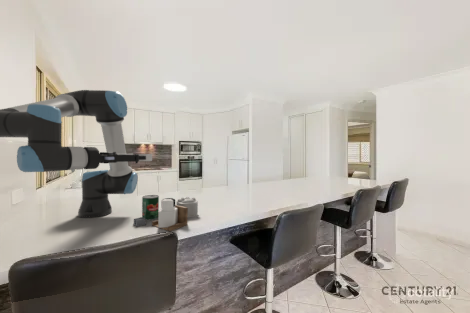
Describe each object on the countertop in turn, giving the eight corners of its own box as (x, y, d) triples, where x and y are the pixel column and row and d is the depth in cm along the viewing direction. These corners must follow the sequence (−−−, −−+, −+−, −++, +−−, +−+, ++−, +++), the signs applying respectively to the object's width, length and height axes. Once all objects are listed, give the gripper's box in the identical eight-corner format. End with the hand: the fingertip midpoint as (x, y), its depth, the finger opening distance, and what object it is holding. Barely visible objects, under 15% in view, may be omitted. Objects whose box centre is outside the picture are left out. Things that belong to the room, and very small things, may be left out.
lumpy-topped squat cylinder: (180, 218, 109) (180, 201, 109) (173, 212, 120) (174, 196, 120) (199, 215, 114) (199, 199, 114) (192, 210, 125) (192, 195, 125)
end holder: (152, 225, 98) (152, 207, 98) (170, 219, 106) (170, 203, 106) (169, 231, 91) (169, 212, 91) (187, 224, 99) (187, 207, 99)
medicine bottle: (162, 222, 101) (162, 197, 101) (177, 222, 101) (178, 197, 101) (157, 228, 94) (158, 200, 94) (174, 227, 94) (174, 200, 94)
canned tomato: (153, 220, 105) (153, 198, 104) (138, 219, 106) (138, 197, 106) (161, 216, 112) (161, 195, 112) (148, 215, 114) (148, 194, 114)
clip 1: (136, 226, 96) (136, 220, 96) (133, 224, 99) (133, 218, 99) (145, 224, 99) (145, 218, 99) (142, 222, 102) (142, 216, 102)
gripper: (68, 167, 79) (125, 164, 97) (100, 171, 65) (160, 167, 82) (68, 146, 79) (125, 147, 96) (100, 146, 65) (160, 148, 82)
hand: (141, 157), depth 89 cm, fingers open, 13 cm apart
